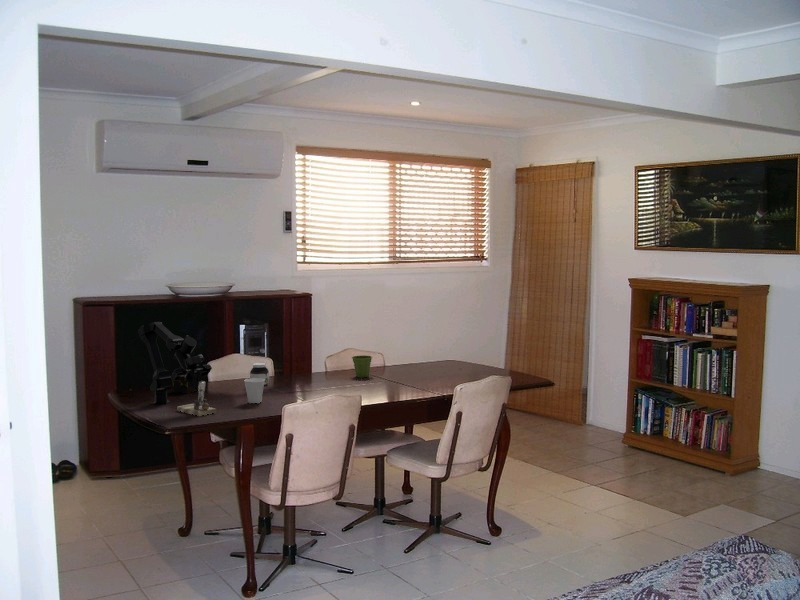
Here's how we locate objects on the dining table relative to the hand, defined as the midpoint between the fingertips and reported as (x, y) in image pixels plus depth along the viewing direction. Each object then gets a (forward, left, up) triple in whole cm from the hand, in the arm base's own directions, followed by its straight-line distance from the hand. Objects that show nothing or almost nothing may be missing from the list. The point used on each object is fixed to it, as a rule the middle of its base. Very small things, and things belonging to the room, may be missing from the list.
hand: (199, 386), depth 364 cm
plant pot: (-88, +74, -12) cm, 116 cm away
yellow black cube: (-52, -17, -12) cm, 56 cm away
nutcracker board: (-2, -2, -12) cm, 12 cm away
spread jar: (-67, +18, -12) cm, 70 cm away
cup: (-21, +22, -12) cm, 33 cm away
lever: (0, 0, -9) cm, 9 cm away
